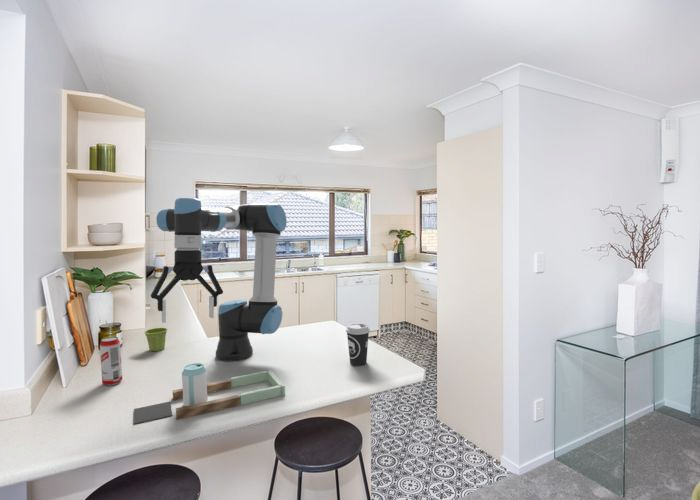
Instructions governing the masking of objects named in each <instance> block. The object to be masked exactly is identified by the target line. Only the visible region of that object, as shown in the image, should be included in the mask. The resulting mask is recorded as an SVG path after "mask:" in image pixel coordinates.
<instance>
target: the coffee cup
mask: <svg viewBox="0 0 700 500" xmlns="http://www.w3.org/2000/svg"><path fill="white" fill-rule="evenodd" d="M370 332H371V330H370V327H369V326H368V324H366V323H361V322H360V323H359V322H358V323H357V322H356V323H350V324H348V325H347V327H346V330H345V333H346V337H347V346H348V354H349V355H348V356H349V357H348V358H349V364H350V365H352V366H355V367H361V366H365V365H367V361H368V360H367V359H368V347H369V336H370V335H369V333H370Z"/></svg>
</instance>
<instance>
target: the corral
mask: <svg viewBox="0 0 700 500" xmlns="http://www.w3.org/2000/svg"><path fill="white" fill-rule="evenodd" d="M229 379H230V381H231V389H232V388H237V387H243V386H246V385H251V384H257V383H260V382H265V381H268V382H269V384H271V386H268V387H265V388H264V387H263V388H260V389H256V390H251V391H247V392H246V391H245V392H242V393H239V394H238V395H239V397H240V406H243V405H247V404H251V403H255V402H260V401H264V400H268V399H269V400H270V399H273V398H276V397H281V396H286V386H285V384H284V383H283V382H282V381H281V380H280V379H279V378H278V376H277V375H276V374H275V373H274V372H273V371H272V369H268V370H263V371H258V372H254V373H253V372H252V373H248V374H243V375H237V376H232V377H231V376H230V377H229Z"/></svg>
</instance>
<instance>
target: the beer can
mask: <svg viewBox="0 0 700 500" xmlns="http://www.w3.org/2000/svg"><path fill="white" fill-rule="evenodd" d="M100 341H101V342H100V344H99V356H100V367H101V368H100V371H101V382H102V383H101V384H103V385H104V386H108V387H110V386H115V385H117V384H120V383H121V381H123V366H122V364H123V363H122V349H121V348H122V347H121V340H119V337H118V336H109V337H105V338H104V337H103V338H102V339H101V340H100Z"/></svg>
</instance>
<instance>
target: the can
mask: <svg viewBox="0 0 700 500" xmlns="http://www.w3.org/2000/svg"><path fill="white" fill-rule="evenodd" d="M207 379H208V378H207V369H206V368H205V365H204V364H203V363H201V362H200V363H199V362H195V363H190V364H186V365H185V366H184V367H183V370H182V372H181V383H182V387H181V388H183V398H182V402H183V403H182V404H183V405H184V406H189V405H194V404H198V403H203V402H208V393H207V384H208V382H207V381H208V380H207ZM184 406H183V407H184Z"/></svg>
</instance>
